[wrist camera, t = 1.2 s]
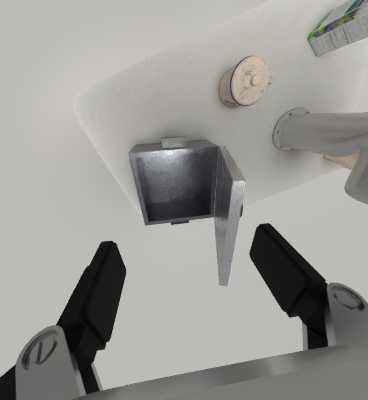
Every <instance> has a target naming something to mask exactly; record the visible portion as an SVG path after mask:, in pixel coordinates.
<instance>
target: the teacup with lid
mask: <svg viewBox="0 0 368 400" xmlns="http://www.w3.org/2000/svg"><path fill="white" fill-rule="evenodd" d="M272 82H273V78H272V77H269V70H268V67H267V64H266V62H265V61H264V60H263V59H262V58H260V57H258V56H249V57H246V58H244V59H243V60H241V61H240V62H239V63H238V65H236V66H235V67H233V68H232V69H231V70H229V71H228V72H227V73H226V74H225V75H224V76H223V78H222V80H221V83H220V87H219V94H220V98H221V100H222V102H223V103H224V104H225V105H227V106H229V107H235V106H249V105H252V104H254V103H255V102H257V101H258V100H259V99H260V98H261V97H262V95H263V94H264V92H265V90H266V88H267V85H268V84H271V83H272Z"/></svg>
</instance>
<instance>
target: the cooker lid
mask: <svg viewBox="0 0 368 400" xmlns="http://www.w3.org/2000/svg"><path fill="white" fill-rule="evenodd" d="M245 184H246V180H245V178H244V177H243V175H242V173H241V172H240V170H239V168H238V167H237V165H236V163H235V162H234V160H233V158H232V157H231V155H230V153H229V152H228V150H227V148H226V147H225V146H219V154H218V168H217V182H216V196H215V211H214V223H215V236H216V249H217V262H218V275H219V285H223V286H227V284H228V279H229V273H230V268H231V262H232V257H233V251H234V245H235V240H236V234H237V229H238V223H239V218H240V217H241V216H242V211H243V210H242V209H243V205H242V201H243V196H244V190H245Z"/></svg>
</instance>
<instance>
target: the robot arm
mask: <svg viewBox="0 0 368 400" xmlns="http://www.w3.org/2000/svg"><path fill="white" fill-rule="evenodd" d="M273 141H274V144H275V146H276V147H277V148H278V149H280V150H284V151H288V150H292V149H294V148H297V149H301V150H306V151H310V152H314V153H318V154H323V155H327V156H331V157H345V156H349V155H353V154H356V153H359V152H360V154H359V157H358V160H357V162H356V163H355V165H354V167H353V169H352V171H351V173H350V175H349V177H348V179H347V181H346V184H345V192H346V193H347V194H348V195H349V196H350V197H352V198H354V199H356V200H358V201H360V202H363V203H366V204H368V112H367V113H324V114H310V112H309V111H308V110H307V109H304V108H296V109H292V110H290V111H288V112H287V113H286V114H284V115H283V116H282V117H281V119H280V120H279V121H278V123H277V125H276V127H275V129H274V133H273ZM250 258H251V260H252V261H253V263H254V265H255V266H256V268H257V269H258V271H259V273H260V275H261V276H262V278H263V279H264V281H265V283H266V284H267V286H268V288H269V289H270V291H271V292H272V294H273V296H274V297H275V299H276V301H277V302H278V304H279V305H280V307H281V309H282V310H283V311H284V312H286V313H287V315H288V316H289V317H296V316H299V317H300V319H301V320H302V326H303V351H299V352H294V353H289V354H284V355H278V356H273V357H268V358H262V359H257V360H252V361H247V362H242V363H236V364H231V365H226V366H220V367H216V368H210V369H205V370H200V371H195V372H190V373H185V374H180V375H174V376H170V377H164V378H160V379H154V380H150V381H144V382H139V383H134V384H130V385H125V386H121V387H117V388H112V389H107V390H103V389H102V385H101V383H100V380H99V377H98V374H97V371H96V369H95V366H94V363H93V361H94V359H95V355H96V352H97V350H103V349H105V346H106V342H108V341H109V340H110V338H111V334H112V330H113V326H114V322H115V318H116V314H117V309H118V305H119V301H120V297H121V292H122V289H123V284H124V280H125V276H126V268H125V265H124V263H123V260H122V257H121V255H120V253H119V250H118V247H117V244H116V243H113V241H105V242H101V244H100V245H99V248H98V249H97V251H96V253H95V256H94V258H93V260H92V261H91V263H90V265H89V266H87V267H86V269H85V270H84V272H83V274H82V276H81V278H80V280H79V282H78V284H77V286H76V288H75V289H74V291H73V294H72V295H71V297H70V299H69V301H68V303H67V305H66V307H65V309H64V311H63V313H62V315H61V316H60V318H59V321H58V322H57V324H56V325H54V326H50V327H47V328H45V329H43V330H42V331H40V332H39V333H37V334H36V335H35V336H34V337H33V338H32V339H31V340H30V341H29V342H28V343H27V344H26V345H25V347H24V348H23V350H22V351H21V353H20V355H19V357H18V359H17V362H16V365H15V366H13V367H12V368H11V369H10V370H8V372H6V373H5V374H4V375H3V376H1V377H0V400H368V304H367V302H366V301H365V300H364V299H363V297H362V296H360V295H359V294H358V293H357V292H356V291H354V290H353V289H351V288H349V287H347V286H345V285H343V284H340V283H329V284H327V283H326V282H325V281H326V280H325V279H324V278H323V277H322V276H321V275H320V274H319V273H318V272H317V271H316V270H315V269H314V268H313V267H312V266H311V265H310V264H309V263H308V262H307V261H306V260H305V259H304V258H303V257H302V256H301V255H300V254H299V253H298V252H297V251H296V250H295V249H294V248H293V247H292V246H291V245H290V244H289V243H288V242H287V241H286V240H285V239H284V238H283V237H282V235H280V233H279V232H278V231H277V230H276V229H275V228H274V227H273V226H272V225H270V224H269V223H267V224H260V225H259V226H258V227H257V228H256V232H255V236H254V239H253V242H252V246H251V250H250Z"/></svg>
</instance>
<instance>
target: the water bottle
mask: <svg viewBox="0 0 368 400" xmlns="http://www.w3.org/2000/svg"><path fill="white" fill-rule="evenodd" d="M359 154H360V152H359V153H356V154H353V155H349V156H345V157H331V156H327V155H324V157H325V158H326V159H330V160H332V161H334V162H336V163H337V164H339V165H341V166H343V167H345V168H348V169H350V170H352V169H353V167H354V165H355V163H356V162H357V160H358V157H359Z"/></svg>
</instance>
